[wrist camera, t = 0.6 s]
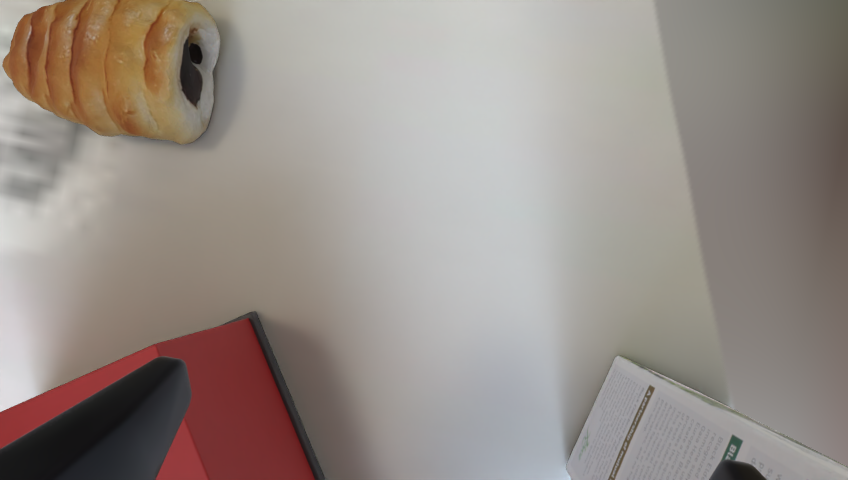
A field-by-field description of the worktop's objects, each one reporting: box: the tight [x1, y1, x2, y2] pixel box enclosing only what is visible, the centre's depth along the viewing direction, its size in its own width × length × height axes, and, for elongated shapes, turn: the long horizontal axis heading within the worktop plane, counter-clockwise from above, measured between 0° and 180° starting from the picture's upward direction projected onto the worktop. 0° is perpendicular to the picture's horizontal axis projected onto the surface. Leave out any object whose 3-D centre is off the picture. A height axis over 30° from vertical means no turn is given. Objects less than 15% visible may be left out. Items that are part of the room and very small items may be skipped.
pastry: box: [3, 0, 220, 145], centre depth 24 cm, size 9×7×4 cm
